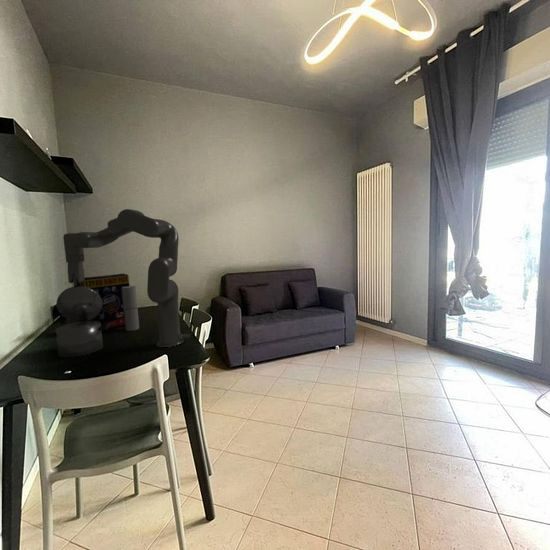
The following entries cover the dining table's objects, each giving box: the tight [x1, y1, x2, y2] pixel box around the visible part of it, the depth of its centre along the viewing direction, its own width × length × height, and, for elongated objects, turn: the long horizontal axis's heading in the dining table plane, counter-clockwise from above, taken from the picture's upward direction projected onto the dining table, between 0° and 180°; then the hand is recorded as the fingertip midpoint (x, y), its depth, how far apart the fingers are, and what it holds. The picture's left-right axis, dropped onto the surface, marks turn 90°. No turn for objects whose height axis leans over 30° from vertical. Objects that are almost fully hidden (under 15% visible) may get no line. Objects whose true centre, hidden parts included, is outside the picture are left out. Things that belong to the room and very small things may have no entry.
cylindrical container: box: [122, 285, 140, 332], centre depth 180 cm, size 7×7×25 cm
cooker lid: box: [55, 286, 102, 322], centre depth 151 cm, size 19×19×3 cm
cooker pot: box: [46, 321, 109, 359], centre depth 146 cm, size 24×20×12 cm
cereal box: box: [78, 273, 131, 332], centre depth 186 cm, size 27×11×32 cm, turn 142°
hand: (79, 296), depth 150 cm, fingers closed
